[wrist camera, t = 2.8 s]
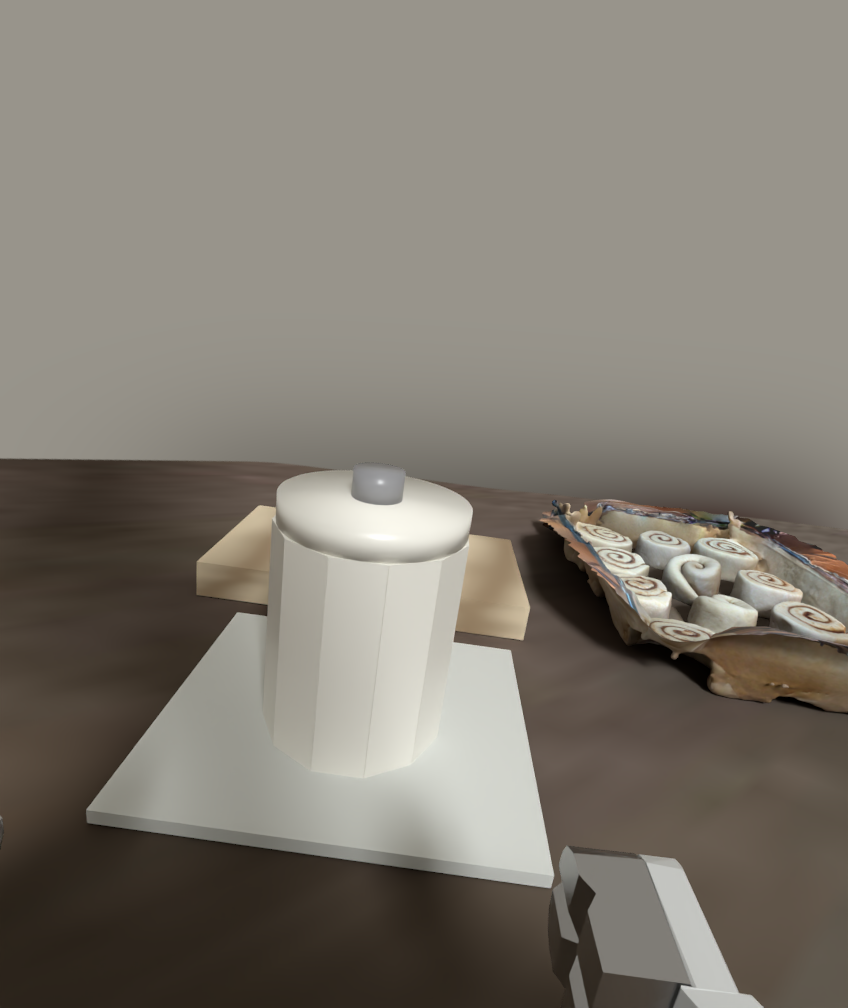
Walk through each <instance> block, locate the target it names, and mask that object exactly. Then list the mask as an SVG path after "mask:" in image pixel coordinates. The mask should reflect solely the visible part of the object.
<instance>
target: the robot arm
mask: <svg viewBox="0 0 848 1008" xmlns="http://www.w3.org/2000/svg"><path fill="white" fill-rule="evenodd" d="M3 833H4V829H3V821H2V817H1V816H0V849H1V844H2V839H3ZM559 869H560V874H561V879H562V883H560V884H559V885H558V886H557V887H555V888H554V889H553V891H552V896H551V900H550V905H549V917H548V938H549V950H550V957H551V963H552V970H553V972H554V974H555V975H556V976H557V978H558V979H559V981H560V982H561V983H562V985H563V986H564V988H565V992H564V996H563V999H562V1003H561V1007H560V1008H764V1007H763V1006H762V1005H761V1004H760V1003H759V1002H758V1001H757V1000H756V999H755V998H754V997H753V996H752V995H748V994H743V993H739V992H738V989H737V987H736V985H735V983H734V981H733V978H732V976H731V974H730V972H729V970H728V967H727V965H726V963H725V961H724V959H723V956H722V954H721V952H720V950H719V947H718V945H717V943H716V941H715V939H714V936H713V934H712V932H711V930H710V928H709V925H708V923H707V921H706V919H705V917H704V914H703V912H702V910H701V908H700V905H699V903H698V901H697V899H696V897H695V894H694V892H693V890H692V888H691V886H690V883H689V881H688V879H687V877H686V875H685V872H684V870H683V868H682V866H681V865H680V864H679V863H678V862H677V861H676V860H675V859H672V858H663V857H655V856H647V855H636V854H634V853H626V852H618V851H609V850H600V849H592V848H583V847H574V846H566V848H565V849H564V850H563V852H562V856H561V859H560V863H559Z"/></svg>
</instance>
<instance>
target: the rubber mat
mask: <svg viewBox="0 0 848 1008" xmlns="http://www.w3.org/2000/svg"><path fill="white" fill-rule="evenodd" d="M266 634H267V616H261V615H253V614H246V613H239V612H237V613H236V615H235V616H234V617H233V619H232V620H231V621H230V623H229V624H228V625H227V627H226V628H225V629H224V630H223V632H222V633H221V634H220V636H219V637H218V638H217V640H216V641H215V642H214V644H213V645H212V646H211V647H210V649H209V650H208V651H207V653H206V654H205V655H204V657H203V658H202V659H201V661H200V662H199V663H198V664H197V666H196V667H195V668H194V670H193V671H192V672H191V674H190V675H189V676H188V678H187V679H186V680H185V681H184V683H183V684H182V685H181V687H180V688H179V689H178V691H177V692H176V693H175V695H174V696H173V697H172V698H171V700H170V701H169V702H168V704H167V705H166V706H165V708H164V709H163V710H162V712H161V713H160V714H159V715H158V717H157V718H156V719H155V721H154V722H153V723H152V725H151V726H150V727H149V729H148V730H147V731H146V732H145V734H144V735H143V736H142V738H141V739H140V740H139V742H138V743H137V744H136V745H135V747H134V748H133V749H132V751H131V752H130V753H129V755H128V756H127V757H126V759H125V760H124V761H123V762H122V764H121V765H120V766H119V768H118V769H117V770H116V772H115V773H114V774H113V776H112V777H111V778H110V779H109V781H108V782H107V783H106V785H105V786H104V787H103V789H102V790H101V791H100V793H99V794H98V795H97V796H96V798H95V799H94V800H93V802H92V803H91V804H90V806H89V807H88V808H87V810H86V815H87V823H91V824H98V825H105V826H112V827H119V828H126V829H134V830H141V831H148V832H155V833H162V834H169V835H176V836H183V837H190V838H197V839H204V840H211V841H219V842H226V843H233V844H240V845H247V846H254V847H261V848H268V849H275V850H282V851H289V852H297V853H304V854H311V855H318V856H325V857H332V858H339V859H346V860H353V861H360V862H367V863H375V864H382V865H389V866H396V867H403V868H410V869H417V870H424V871H431V872H438V873H445V874H453V875H460V876H467V877H474V878H481V879H488V880H495V881H502V882H509V883H516V884H523V885H531V886H538V887H545V888H551V885H552V882H553V878H554V873H553V868H552V863H551V857H550V852H549V847H548V842H547V837H546V831H545V826H544V821H543V816H542V811H541V806H540V800H539V795H538V790H537V785H536V780H535V774H534V769H533V764H532V759H531V754H530V749H529V743H528V738H527V733H526V728H525V723H524V717H523V712H522V707H521V702H520V697H519V692H518V686H517V681H516V676H515V671H514V666H513V660H512V655H511V650H505V649H498V648H490V647H483V646H476V645H469V644H462V643H454V642H453V646H452V652H451V658H450V664H449V670H448V676H447V681H446V687H445V693H444V699H443V705H442V711H441V717H440V723H439V729H438V735H437V738H436V739H435V740H434V741H433V742H432V743H431V744H430V745H429V746H428V747H427V748H426V749H425V751H424V752H423V753H422V754H421V755H420V756H419V757H418V758H417V759H416V760H415V761H414V762H413V763H412V764H411V765H409V766H405V767H402V768H398V769H395V770H391V771H388V772H384V773H381V774H378V775H374V776H371V777H367V778H356V777H349V776H342V775H335V774H327V773H320V772H313V771H310V770H308V769H307V768H305V767H304V766H302V765H301V764H300V763H298V762H297V761H295V760H294V759H292V758H291V757H289V756H288V755H286V754H285V753H284V752H282V751H281V750H279V749H278V748H276V747H275V746H274V745H273V743H272V740H271V737H270V734H269V731H268V727H267V724H266V721H265V718H264V715H263V697H264V676H265V655H266Z"/></svg>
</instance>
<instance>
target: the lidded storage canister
mask: <svg viewBox="0 0 848 1008" xmlns="http://www.w3.org/2000/svg"><path fill="white" fill-rule="evenodd" d="M405 474H406V472H405V470H403V469H402V468H399V467H397V466H393V465H389V464H383V463H359V464H356V465H355V466H354V470H333V471H320V472H312V473H306V474H302V475H298V476H295V477H292V478H290V479H288V480H286V481H284V482H283V483H281V485H280V486H279V487H278V489H277V500H276V515H275V516H274V517H273V518H272V529H271V550H270V571H269V592H268V613H267V634H266V655H265V676H264V697H263V715H264V718H265V721H266V724H267V727H268V731H269V734H270V737H271V740H272V743H273V745H274V746H275V747H276V748H278V749H279V750H281V751H282V752H284V753H285V754H286V755H288V756H289V757H291V758H292V759H294V760H295V761H297V762H298V763H300V764H301V765H302V766H304V767H305V768H307V769H308V770H310V771H313V772H320V773H327V774H335V775H342V776H349V777H356V778H367V777H371V776H374V775H378V774H381V773H384V772H388V771H391V770H395V769H398V768H402V767H405V766H409V765H411V764H412V763H413V762H414V761H415V760H416V759H417V758H418V757H419V756H420V755H421V754H422V753H423V752H424V751H425V749H426V748H427V747H428V746H429V745H430V744H431V743H432V742H433V741H434V740H435V739H436V738H437V735H438V729H439V723H440V717H441V711H442V705H443V699H444V693H445V687H446V681H447V676H448V670H449V664H450V658H451V652H452V646H453V640H454V634H455V628H456V622H457V616H458V610H459V604H460V598H461V592H462V586H463V580H464V574H465V568H466V562H467V556H468V550H469V532H470V526H471V520H472V513H473V509H472V506H471V505H470V503H469V502H468V501H467V500H466V499H465V498H463V497H462V496H460V495H459V494H457V493H455V492H453V491H451V490H449V489H447V488H445V487H442V486H439V485H437V484H434V483H430V482H427V481H424V480H420V479H416V478H411V477H407V476H405Z"/></svg>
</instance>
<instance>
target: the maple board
mask: <svg viewBox="0 0 848 1008" xmlns="http://www.w3.org/2000/svg"><path fill="white" fill-rule="evenodd" d="M275 515H276V508H275V507H267V506H260V505H259V506H258V507H257V508H256V509H255V510H254V511H253V512H251V513H250V514H249V515H248V516H247V517H246V518H245V519H244V520H242V521H241V522H240V523H239V524H238V525H237V526H236V527H235V528H234V529H232V530H231V531H230V532H229V533H228V534H227V535H226V536H225V537H223V538H222V539H221V540H220V541H219V542H218V543H217V544H216V545H215V546H213V547H212V548H211V549H210V550H209V551H208V552H207V553H206V554H205V555H203V556H202V557H201V558H200V559H199V560H198V561H197V595H201V596H208V597H215V598H222V599H229V600H237V601H244V602H251V603H258V604H265V605H268V592H269V571H270V550H271V529H272V518H273V517H274V516H275ZM529 611H530V606H529V602H528V599H527V596H526V592H525V589H524V585H523V582H522V579H521V575H520V572H519V569H518V565H517V562H516V558H515V555H514V552H513V548H512V545H511V541H510V540H506V539H499V538H491V537H484V536H477V535H470V534H469V550H468V556H467V562H466V568H465V574H464V580H463V586H462V592H461V598H460V604H459V610H458V616H457V622H456V628H455V631H460V632H467V633H474V634H481V635H488V636H495V637H503V638H510V639H517V640H523V639H524V634H525V629H526V625H527V620H528V615H529Z"/></svg>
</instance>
